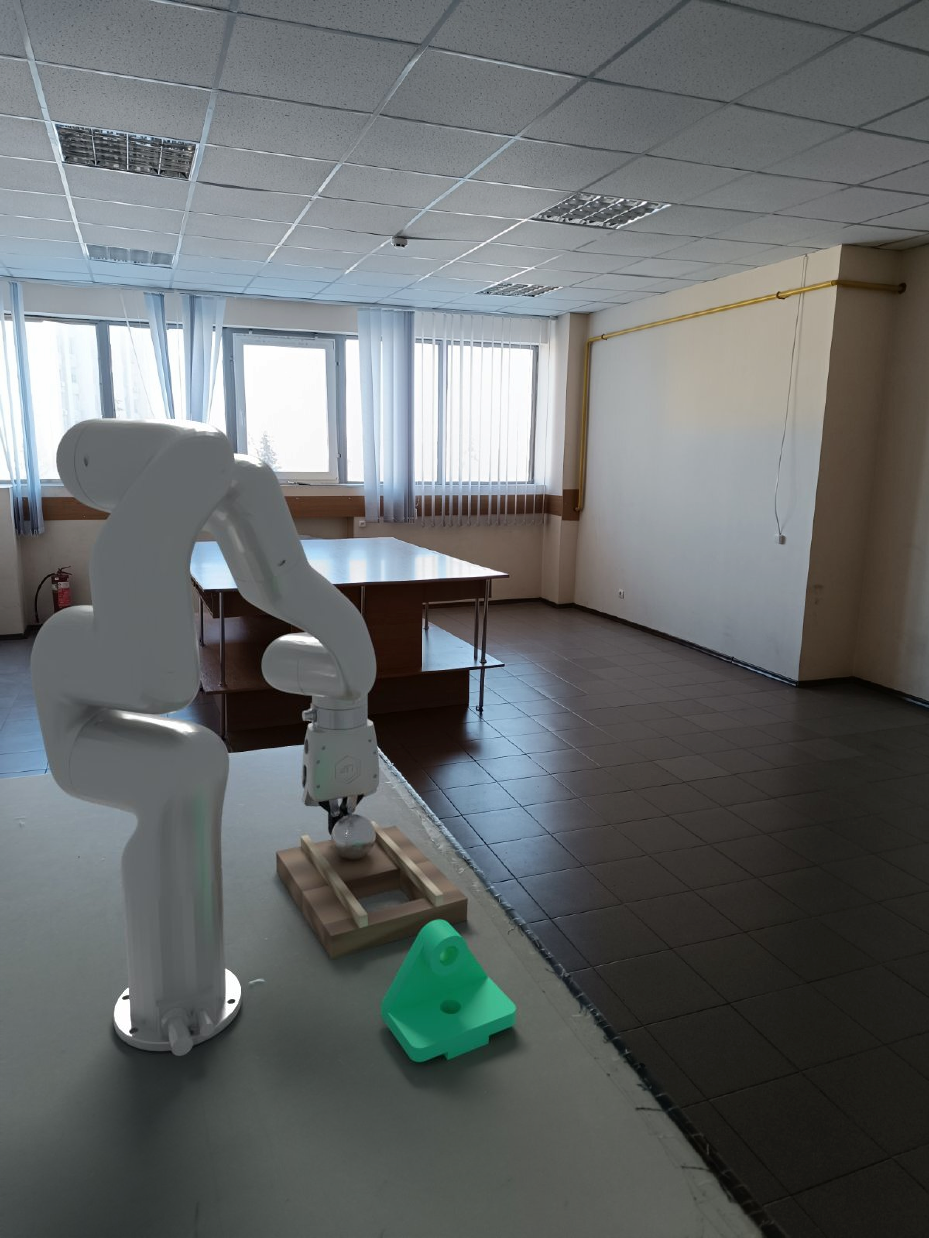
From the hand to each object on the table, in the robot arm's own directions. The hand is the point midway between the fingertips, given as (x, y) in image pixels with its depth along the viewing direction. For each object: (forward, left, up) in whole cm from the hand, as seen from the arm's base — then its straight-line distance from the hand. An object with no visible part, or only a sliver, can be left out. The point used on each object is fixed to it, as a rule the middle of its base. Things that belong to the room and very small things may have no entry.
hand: (340, 837), depth 115 cm
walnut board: (-10, 0, -4) cm, 11 cm away
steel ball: (-5, 0, +2) cm, 6 cm away
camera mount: (-37, +2, -4) cm, 37 cm away
